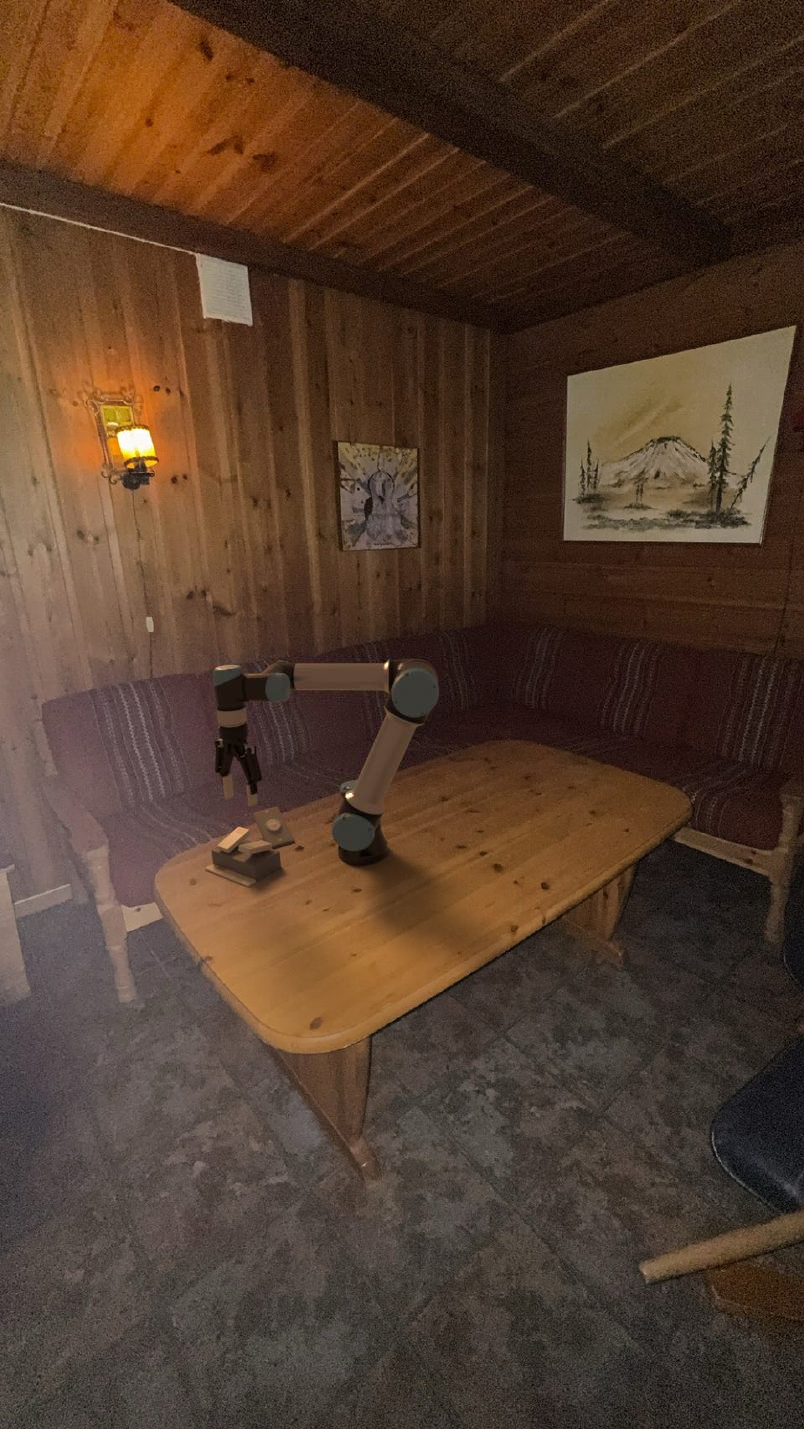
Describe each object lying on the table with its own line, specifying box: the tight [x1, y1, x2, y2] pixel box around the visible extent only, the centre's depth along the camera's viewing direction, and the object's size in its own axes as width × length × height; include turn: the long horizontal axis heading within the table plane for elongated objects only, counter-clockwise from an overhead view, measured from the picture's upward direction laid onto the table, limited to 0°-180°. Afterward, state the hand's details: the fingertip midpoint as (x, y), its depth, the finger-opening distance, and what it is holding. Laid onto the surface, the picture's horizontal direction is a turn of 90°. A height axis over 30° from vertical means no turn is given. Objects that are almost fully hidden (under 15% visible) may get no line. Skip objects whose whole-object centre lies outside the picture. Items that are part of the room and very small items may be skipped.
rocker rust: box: [216, 826, 251, 853], centre depth 185 cm, size 4×9×2 cm, turn 147°
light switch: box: [252, 806, 295, 849], centre depth 201 cm, size 8×6×14 cm
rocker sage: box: [238, 839, 273, 855], centre depth 180 cm, size 4×9×2 cm, turn 147°
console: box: [204, 838, 282, 888], centre depth 183 cm, size 18×13×6 cm
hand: (241, 800), depth 173 cm, fingers open, 9 cm apart
